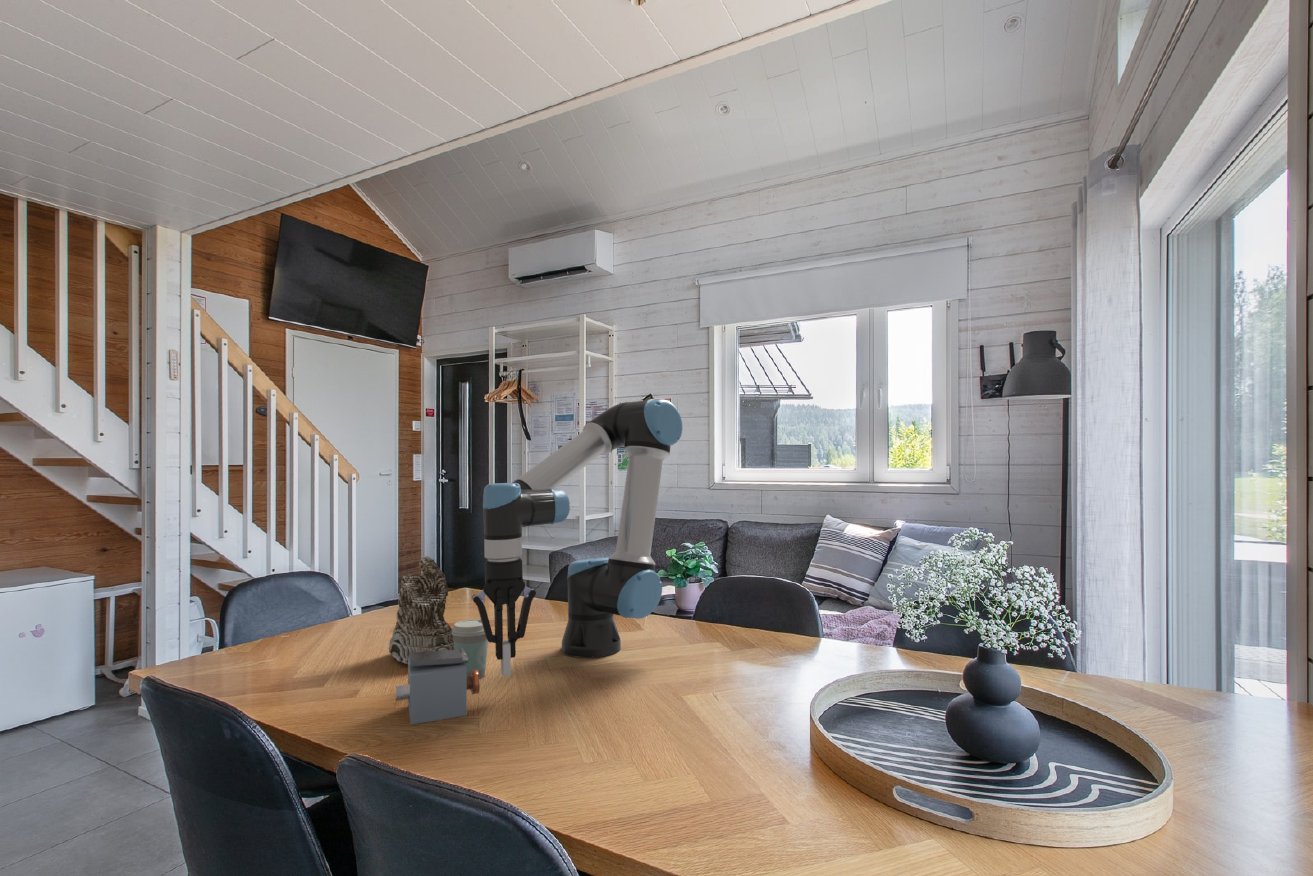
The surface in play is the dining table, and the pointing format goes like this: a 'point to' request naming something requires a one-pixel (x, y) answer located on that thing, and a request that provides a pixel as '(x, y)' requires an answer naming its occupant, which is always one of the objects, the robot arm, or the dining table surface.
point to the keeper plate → (438, 657)
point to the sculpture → (421, 614)
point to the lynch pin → (472, 684)
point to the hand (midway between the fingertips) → (506, 674)
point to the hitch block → (437, 692)
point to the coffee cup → (471, 644)
